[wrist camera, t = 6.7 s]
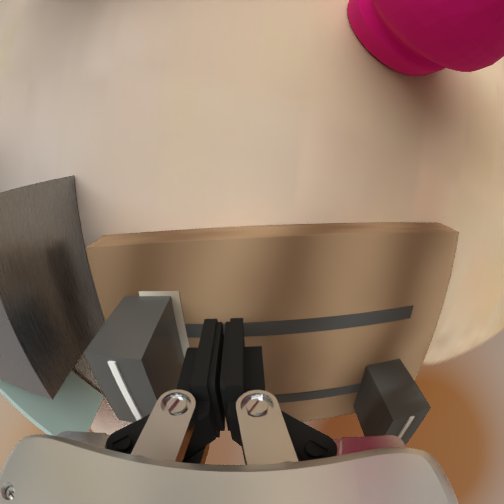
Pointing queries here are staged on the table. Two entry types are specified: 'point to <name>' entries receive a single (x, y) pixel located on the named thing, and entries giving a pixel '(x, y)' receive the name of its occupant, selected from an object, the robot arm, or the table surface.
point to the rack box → (44, 287)
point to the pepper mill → (430, 33)
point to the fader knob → (137, 355)
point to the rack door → (57, 405)
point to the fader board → (303, 306)
